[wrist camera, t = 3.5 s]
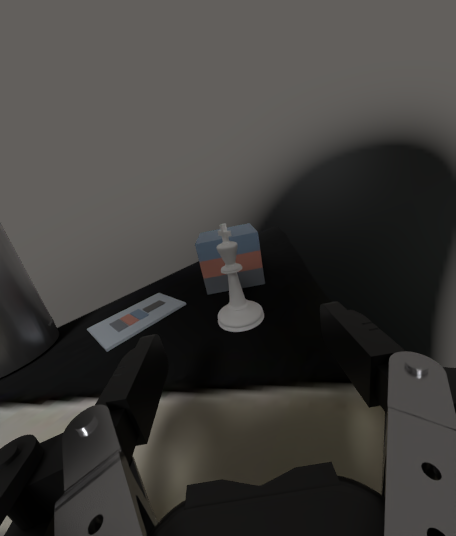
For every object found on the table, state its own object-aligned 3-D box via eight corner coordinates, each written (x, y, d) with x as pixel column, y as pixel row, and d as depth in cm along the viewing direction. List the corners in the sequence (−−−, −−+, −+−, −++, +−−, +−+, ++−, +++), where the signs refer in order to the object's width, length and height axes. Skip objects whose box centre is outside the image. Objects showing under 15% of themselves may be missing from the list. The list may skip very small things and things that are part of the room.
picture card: (107, 351, 22) (105, 348, 22) (87, 330, 27) (86, 328, 26) (186, 304, 28) (185, 301, 28) (159, 294, 33) (158, 292, 33)
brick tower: (265, 283, 30) (257, 232, 27) (207, 294, 30) (195, 244, 27) (255, 265, 37) (249, 223, 35) (210, 273, 37) (200, 232, 35)
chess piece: (246, 301, 26) (230, 217, 23) (274, 316, 22) (260, 218, 19) (210, 318, 24) (187, 229, 21) (234, 339, 20) (210, 232, 17)
